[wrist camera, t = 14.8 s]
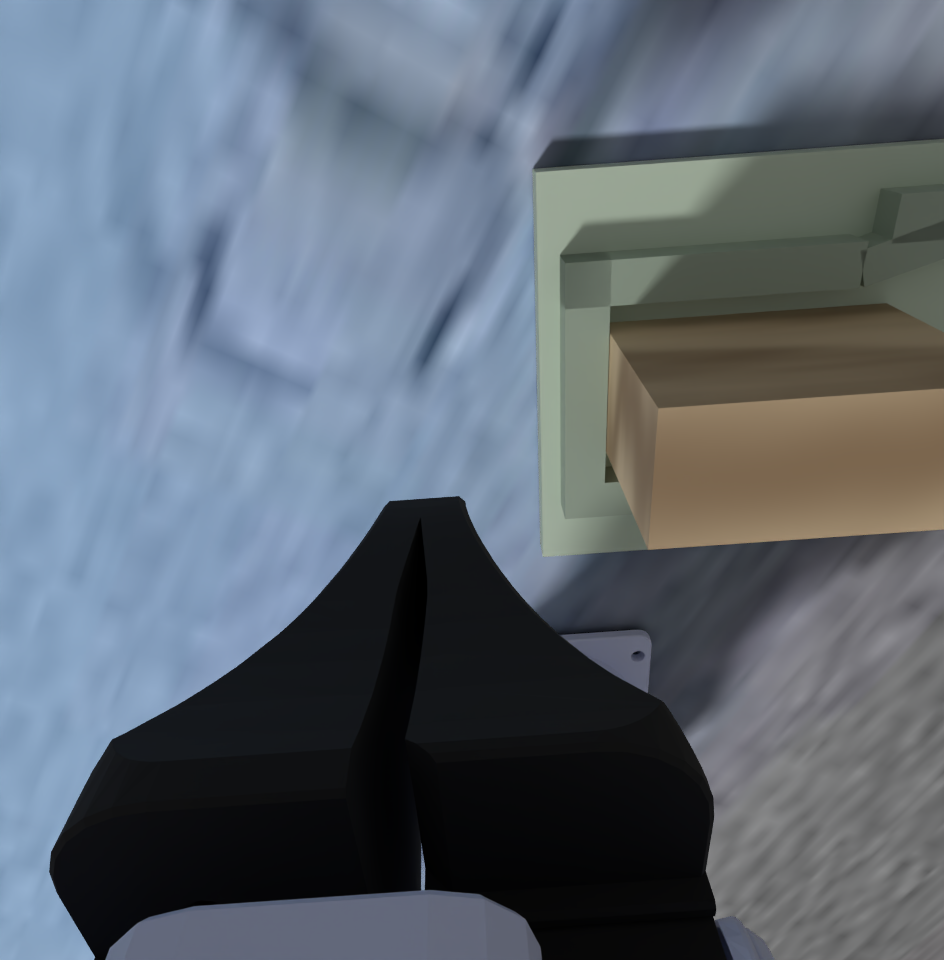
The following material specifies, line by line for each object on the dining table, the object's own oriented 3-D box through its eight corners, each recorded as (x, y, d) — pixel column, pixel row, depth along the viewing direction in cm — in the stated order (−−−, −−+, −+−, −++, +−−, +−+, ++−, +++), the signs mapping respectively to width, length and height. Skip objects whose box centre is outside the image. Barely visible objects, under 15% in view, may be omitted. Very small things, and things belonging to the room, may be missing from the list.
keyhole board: (1088, 504, 25) (1132, 533, 23) (540, 543, 25) (546, 575, 23) (1252, 116, 19) (1326, 119, 17) (532, 168, 19) (540, 177, 17)
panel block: (860, 419, 22) (990, 525, 17) (599, 437, 22) (648, 550, 17) (886, 303, 20) (1040, 381, 15) (603, 323, 20) (658, 408, 15)
